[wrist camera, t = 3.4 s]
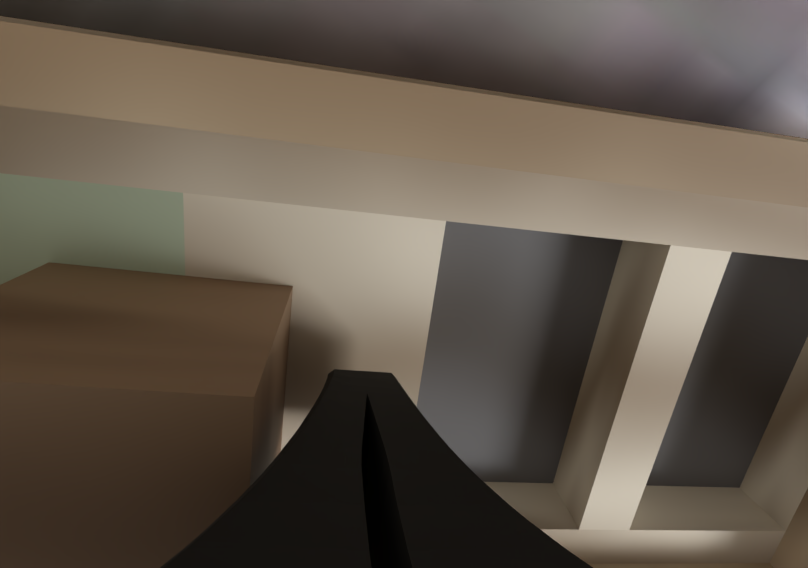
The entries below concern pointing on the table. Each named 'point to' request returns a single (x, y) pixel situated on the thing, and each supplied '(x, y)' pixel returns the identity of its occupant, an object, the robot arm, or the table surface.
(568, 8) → the table surface
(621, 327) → the box
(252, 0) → the table surface
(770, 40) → the table surface
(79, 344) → the walnut block
